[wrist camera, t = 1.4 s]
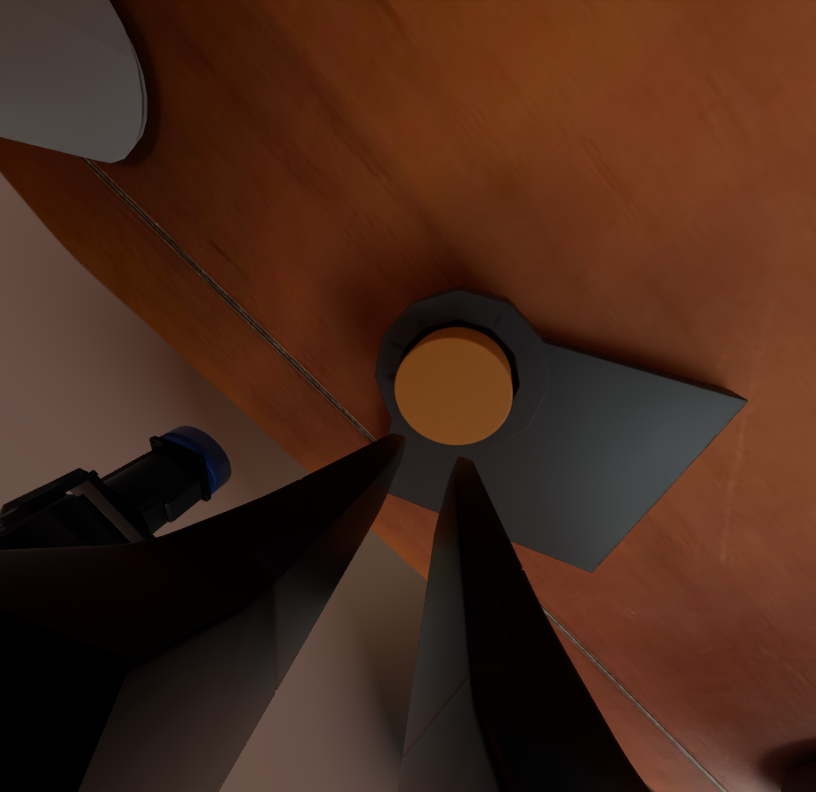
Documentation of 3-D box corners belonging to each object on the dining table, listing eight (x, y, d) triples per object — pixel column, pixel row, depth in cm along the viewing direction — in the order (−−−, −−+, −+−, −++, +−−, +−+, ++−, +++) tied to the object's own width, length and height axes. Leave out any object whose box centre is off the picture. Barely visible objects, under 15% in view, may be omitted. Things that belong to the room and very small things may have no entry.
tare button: (397, 405, 16) (384, 424, 14) (419, 312, 13) (406, 321, 11) (488, 436, 15) (487, 460, 13) (529, 344, 12) (534, 359, 11)
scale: (369, 473, 22) (351, 502, 19) (411, 269, 15) (393, 271, 12) (587, 556, 19) (600, 602, 17) (754, 360, 13) (821, 387, 10)
